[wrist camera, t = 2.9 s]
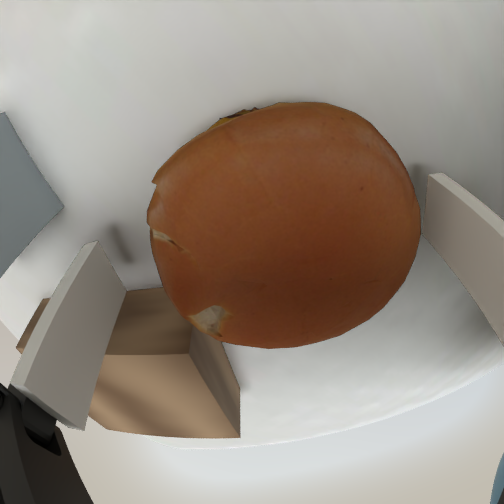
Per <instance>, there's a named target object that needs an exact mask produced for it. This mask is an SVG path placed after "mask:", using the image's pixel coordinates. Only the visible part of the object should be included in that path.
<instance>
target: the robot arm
mask: <svg viewBox="0 0 504 504" xmlns="http://www.w3.org/2000/svg"><path fill="white" fill-rule="evenodd" d="M422 234H423V235H424V237H425V238H426V239H427V240H428V241H429V242H430V244H431V245H432V246H433V247H434V248H435V250H436V251H437V252H438V253H439V254H440V256H441V257H442V258H443V259H444V261H445V262H446V263H447V264H448V266H449V267H450V268H451V269H452V271H453V272H454V273H455V275H456V276H457V277H458V279H459V280H460V281H461V283H462V284H463V285H464V287H465V288H466V289H467V291H468V292H469V294H470V295H471V296H472V298H473V299H474V301H475V302H476V303H477V305H478V306H479V308H480V309H481V311H482V312H483V314H484V315H485V317H486V318H487V320H488V322H489V323H490V325H491V326H492V328H493V330H494V331H495V333H496V334H497V336H498V338H499V339H500V341H501V343H502V345H503V346H504V220H502V219H501V218H500V217H499V216H498V215H497V214H496V213H494V212H493V211H492V210H491V209H490V208H488V207H487V206H486V205H485V204H484V203H482V202H481V201H480V200H479V199H477V198H476V197H475V196H473V195H472V194H471V193H470V192H468V191H467V190H466V189H464V188H463V187H462V186H460V185H459V184H458V183H456V182H455V181H453V180H452V179H451V178H449V177H448V176H446V175H445V174H443V173H434V174H428V180H427V193H426V204H425V213H424V221H423V229H422ZM126 292H127V291H126V289H125V287H124V286H123V284H122V282H121V281H120V279H119V277H118V276H117V274H116V272H115V270H114V269H113V267H112V265H111V263H110V262H109V260H108V258H107V256H106V254H105V253H104V251H103V249H102V247H101V245H100V243H99V241H95V242H92V243H88V244H85V245H84V246H83V247H82V249H81V250H80V252H79V253H78V255H77V256H76V258H75V259H74V261H73V262H72V264H71V265H70V267H69V269H68V270H67V272H66V273H65V275H64V277H63V278H62V280H61V281H60V283H59V285H58V286H57V288H56V290H55V292H54V293H53V295H52V297H51V298H50V300H49V302H48V304H47V306H46V307H45V309H44V311H43V313H42V315H41V317H40V319H39V320H38V322H37V324H36V326H35V328H34V330H33V332H32V334H31V336H30V338H29V340H28V342H27V345H26V347H25V349H24V351H23V353H22V355H21V358H20V360H19V362H18V365H17V367H16V369H15V372H14V374H13V377H12V379H11V381H10V385H9V387H8V389H7V388H6V387H4V386H3V385H2V384H1V383H0V504H94V503H93V501H92V500H91V498H90V496H89V494H88V492H87V490H86V488H85V486H84V484H83V482H82V480H81V478H80V476H79V473H78V471H77V469H76V467H75V464H74V462H73V460H72V458H71V455H70V453H69V450H68V448H67V445H66V442H65V440H64V437H63V434H62V432H61V430H60V428H58V427H57V426H56V421H57V420H58V421H59V422H61V423H62V424H64V425H65V426H67V427H68V428H72V429H78V430H83V431H84V430H85V426H86V421H87V417H88V413H89V409H90V405H91V401H92V397H93V393H94V389H95V386H96V382H97V379H98V375H99V372H100V368H101V365H102V362H103V358H104V355H105V352H106V349H107V346H108V343H109V340H110V337H111V334H112V331H113V328H114V325H115V322H116V319H117V316H118V314H119V311H120V308H121V305H122V303H123V300H124V297H125V295H126ZM490 504H504V454H503V456H502V458H501V460H500V463H499V466H498V469H497V473H496V476H495V480H494V484H493V490H492V495H491V502H490Z"/></svg>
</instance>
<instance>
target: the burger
mask: <svg viewBox="0 0 504 504" xmlns="http://www.w3.org/2000/svg"><path fill="white" fill-rule="evenodd" d="M152 183H154V184H156V185H157V186H156V189H155V191H154V194H153V197H152V199H151V202H150V204H149V207H148V210H147V224H148V225H149V226H150V227H151V228H150V240H151V248H152V253H153V257H154V260H155V263H156V266H157V269H158V272H159V275H160V278H161V281H162V284H163V287H164V290H165V292H166V294H167V296H168V297H169V299H170V300H171V302H172V303H173V305H174V306H175V308H176V309H177V311H178V312H179V314H180V315H181V316H182V317H183V318H184V319H186V320H187V321H189V322H191V323H192V324H193V325H194V326H195V327H196V328H197V329H198V330H199V331H200V332H203V333H205V334H207V335H210V336H211V337H213V338H214V339H216V340H218V341H222V342H226V343H231V344H235V345H242V346H250V347H258V348H266V349H273V348H290V347H299V346H303V345H308V344H312V343H317V342H320V341H324V340H327V339H330V338H333V337H337V336H340V335H342V334H344V333H346V332H347V331H349V330H351V329H353V328H355V327H357V326H358V325H360V324H362V323H364V322H365V321H367V320H369V319H370V318H371V317H373V316H374V315H375V314H376V313H377V312H379V311H380V310H381V309H382V308H383V307H384V306H385V305H386V304H387V303H388V302H389V300H390V299H391V298H392V297H393V296H394V294H395V293H396V292H397V291H398V289H399V288H400V287H401V285H402V284H403V283H404V281H405V279H406V277H407V275H408V273H409V270H410V268H411V266H412V264H413V261H414V259H415V256H416V252H417V248H418V244H419V239H420V235H421V218H420V207H419V204H418V201H417V198H416V195H415V192H414V187H413V184H412V182H411V179H410V177H409V174H408V172H407V169H406V167H405V166H404V164H403V162H402V161H401V159H400V157H399V156H398V154H397V153H396V151H395V150H394V149H393V148H392V146H391V145H390V144H389V143H388V142H387V141H386V139H385V138H384V137H383V136H382V135H381V134H380V133H379V132H378V130H377V129H376V128H375V127H374V126H373V125H372V124H371V123H370V122H368V121H367V120H365V119H364V118H362V117H361V116H359V115H358V114H356V113H354V112H352V111H349V110H346V109H343V108H340V107H337V106H334V105H331V104H328V103H317V102H298V103H277V104H274V105H272V106H268V107H265V108H262V109H257V108H256V107H254V108H253V109H252V110H247V111H246V110H245V109H244V110H242V111H240V112H238V113H235V114H234V115H231V116H228V117H224V118H220V120H219V121H218V122H216V123H215V124H214V125H213V126H211V127H210V128H209V129H208V130H207V131H205V132H203V133H201V134H199V135H198V136H196V137H195V138H193V139H192V140H191V141H189V142H188V143H186V144H185V145H184V146H182V147H181V148H180V149H178V150H177V151H176V152H175V153H174V154H173V155H172V156H171V157H170V158H169V159H168V160H167V161H166V162H165V163H164V164H163V165H162V166H161V168H160V169H159V170H158V171H157V173H156V174H155V176H154V178H153V180H152Z"/></svg>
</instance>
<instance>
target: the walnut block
mask: <svg viewBox="0 0 504 504" xmlns="http://www.w3.org/2000/svg"><path fill="white" fill-rule="evenodd" d="M49 300H50V298H48V299H43V300H42V301H41V303H40V305H39V306H38V308H37V310H36V311H35V313H34V315H33V317H32V318H31V320H30V322H29V324H28V325H27V327H26V329H25V331H24V333H23V335H22V337H21V338H20V340H19V342H18V344H17V346H16V349H17V350H18V351H19V352H20V353H21V354H22V353H23V351H24V349H25V347H26V345H27V342H28V340H29V338H30V336H31V334H32V332H33V330H34V328H35V326H36V324H37V322H38V320H39V319H40V317H41V315H42V313H43V311H44V309H45V307H46V306H47V304H48V302H49ZM88 416H89V417H91V418H92V419H94V420H95V421H96V422H98V423H99V424H100V425H102V426H103V427H104V428H106V429H108V430H114V431H120V432H127V433H135V434H143V435H153V436H164V437H180V438H240V387H239V385H238V383H237V380H236V378H235V375H234V373H233V370H232V368H231V365H230V363H229V360H228V358H227V355H226V353H225V350H224V348H223V345H222V343H221V341H218V340H216V339H214V338H213V337H211V336H210V335H207V334H205V333H203V332H200V331H199V330H198V329H197V328H196V327H195V326H194V325H193V324H192V323H191V322H189V321H187V320H186V319H184V318H183V317H182V316H181V315H180V314H179V312H178V311H177V309H176V308H175V306H174V305H173V303H172V302H171V300H170V299H169V297H168V296H167V294H166V292H165V290H164V287H160V288H151V289H142V290H133V291H127V292H126V295H125V297H124V300H123V303H122V305H121V308H120V311H119V314H118V316H117V319H116V322H115V325H114V328H113V331H112V334H111V337H110V340H109V343H108V346H107V349H106V352H105V355H104V358H103V362H102V365H101V368H100V372H99V375H98V379H97V382H96V386H95V389H94V393H93V397H92V401H91V405H90V409H89V413H88Z"/></svg>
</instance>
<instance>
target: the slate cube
mask: <svg viewBox="0 0 504 504" xmlns="http://www.w3.org/2000/svg"><path fill="white" fill-rule="evenodd" d="M63 207H64V205H63V204H62V203H61V201H60V200H59V199H58V197H57V196H56V194H55V193H54V191H53V190H52V189H51V187H50V186H49V184H48V183H47V181H46V180H45V178H44V177H43V175H42V174H41V172H40V171H39V169H38V168H37V166H36V165H35V163H34V162H33V160H32V158H31V157H30V155H29V154H28V152H27V150H26V149H25V147H24V145H23V144H22V142H21V140H20V139H19V137H18V135H17V133H16V132H15V130H14V128H13V126H12V124H11V123H10V121H9V119H8V117H7V115H6V113H5V112H4V113H1V114H0V278H1V277H2V275H3V274H4V273H5V272H6V270H7V269H8V268H9V266H10V265H11V264H12V263H13V262H14V260H15V259H16V258H17V257H18V256H19V254H20V253H21V252H22V251H23V250H24V248H25V247H26V246H27V245H28V244H29V243H30V242H31V241H32V239H33V238H34V237H35V236H36V235H37V234H38V233H39V232H40V231H41V230H42V229H43V228H44V226H45V225H46V224H47V223H48V222H49V221H50V220H51V219H52V218H53V217H54V216H55V215H56V214H57V213H58V212H59V211H60V210H61V209H62V208H63Z"/></svg>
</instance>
